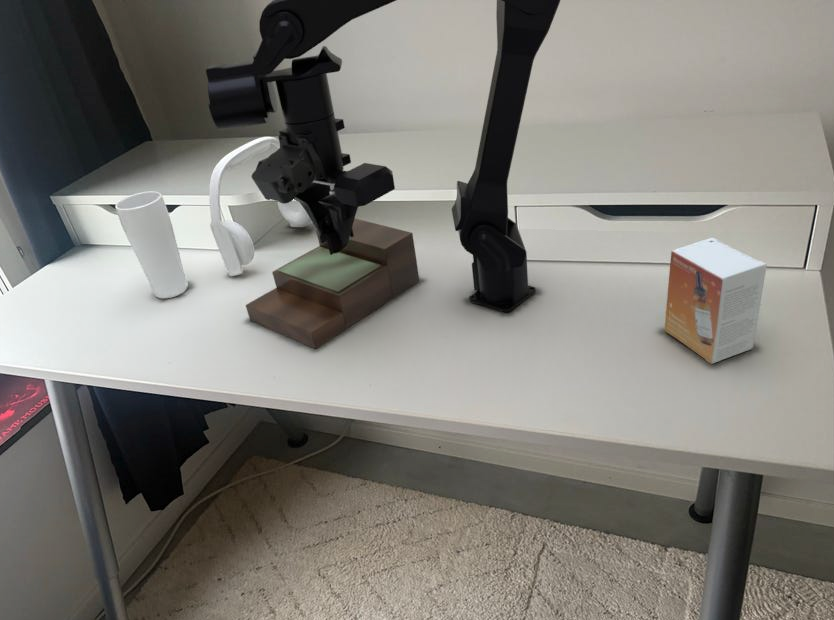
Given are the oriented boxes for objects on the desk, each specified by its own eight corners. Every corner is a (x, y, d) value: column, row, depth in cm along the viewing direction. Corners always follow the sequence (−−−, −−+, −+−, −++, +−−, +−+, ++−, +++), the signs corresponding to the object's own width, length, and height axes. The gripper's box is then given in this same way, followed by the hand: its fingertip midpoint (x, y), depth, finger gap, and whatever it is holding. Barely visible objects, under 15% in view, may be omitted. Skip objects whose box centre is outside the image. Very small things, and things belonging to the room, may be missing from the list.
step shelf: (419, 281, 102) (412, 232, 98) (315, 349, 91) (302, 298, 87) (352, 260, 111) (343, 215, 106) (249, 320, 100) (235, 272, 95)
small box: (663, 331, 83) (668, 249, 77) (703, 317, 84) (712, 235, 78) (711, 365, 76) (722, 278, 71) (754, 349, 78) (768, 262, 72)
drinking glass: (141, 302, 109) (105, 210, 101) (163, 281, 114) (130, 191, 106) (180, 302, 107) (146, 208, 99) (201, 280, 113) (170, 189, 104)
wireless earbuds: (329, 263, 88) (321, 225, 85) (313, 261, 89) (304, 223, 86) (358, 238, 93) (351, 201, 90) (342, 236, 94) (335, 200, 91)
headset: (248, 283, 109) (214, 170, 99) (215, 277, 113) (179, 167, 103) (325, 228, 123) (302, 123, 113) (293, 224, 126) (268, 122, 116)
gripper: (204, 131, 83) (240, 253, 91) (312, 148, 71) (341, 286, 80) (277, 103, 89) (304, 219, 98) (387, 114, 78) (407, 245, 86)
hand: (335, 241), depth 90 cm, fingers closed on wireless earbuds, 3 cm apart
